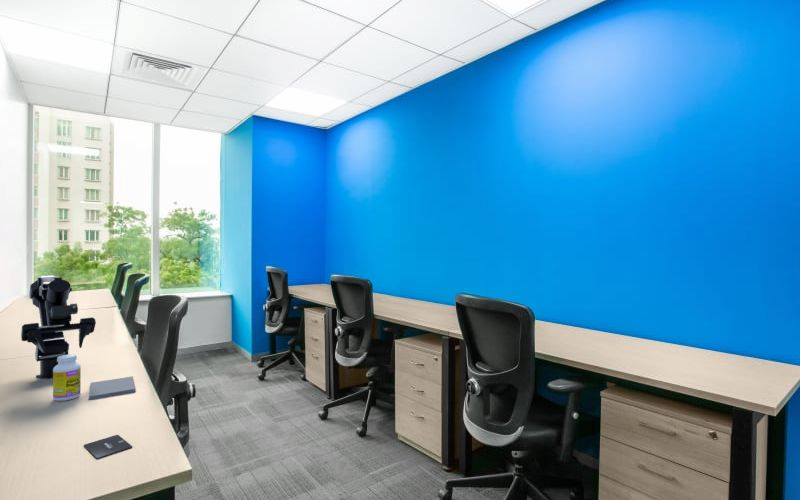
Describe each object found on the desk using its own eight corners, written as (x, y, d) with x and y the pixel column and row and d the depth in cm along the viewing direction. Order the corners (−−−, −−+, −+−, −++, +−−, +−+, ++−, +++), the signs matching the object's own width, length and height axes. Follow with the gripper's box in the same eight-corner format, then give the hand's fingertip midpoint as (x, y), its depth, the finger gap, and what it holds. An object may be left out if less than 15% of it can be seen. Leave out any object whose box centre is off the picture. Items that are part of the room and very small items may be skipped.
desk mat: (90, 385, 140) (90, 382, 140) (132, 379, 147) (132, 376, 147) (88, 399, 127) (88, 396, 127) (135, 391, 134) (135, 388, 134)
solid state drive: (117, 437, 103) (117, 434, 103) (132, 449, 96) (132, 446, 96) (83, 447, 97) (83, 444, 97) (96, 461, 91) (96, 458, 91)
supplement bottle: (65, 402, 125) (64, 359, 125) (47, 401, 126) (46, 358, 126) (86, 394, 132) (85, 353, 132) (68, 393, 133) (68, 352, 133)
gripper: (21, 298, 131) (25, 339, 123) (94, 293, 145) (101, 330, 137) (19, 320, 137) (23, 361, 129) (89, 314, 150) (96, 350, 142)
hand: (62, 349), depth 134 cm, fingers open, 9 cm apart
